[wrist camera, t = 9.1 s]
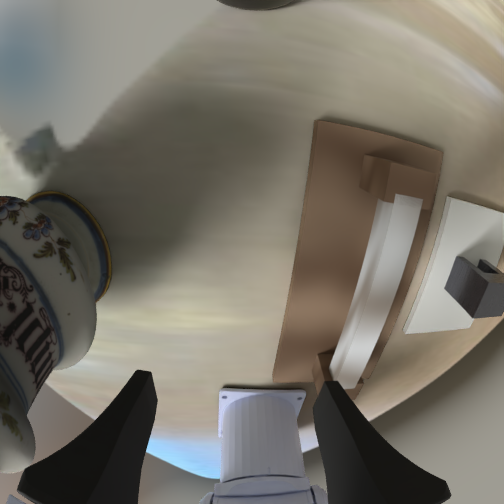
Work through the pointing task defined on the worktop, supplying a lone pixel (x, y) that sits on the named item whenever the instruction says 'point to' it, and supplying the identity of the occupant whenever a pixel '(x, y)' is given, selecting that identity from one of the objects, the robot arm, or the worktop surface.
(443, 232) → the mat
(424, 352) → the worktop surface
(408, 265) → the stand
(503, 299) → the dark grey notched block
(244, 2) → the supplement bottle
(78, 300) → the apothecary jar
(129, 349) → the worktop surface
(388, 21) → the worktop surface
